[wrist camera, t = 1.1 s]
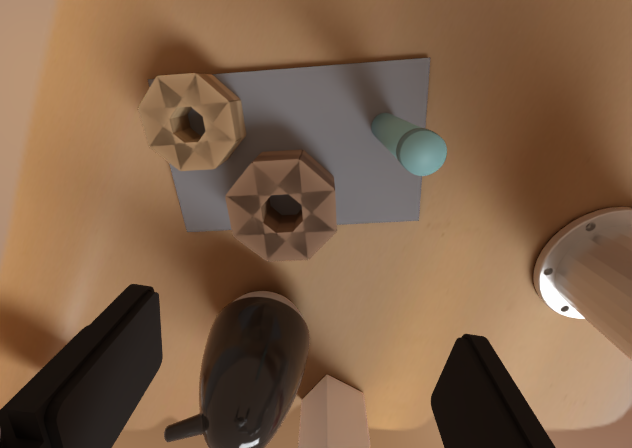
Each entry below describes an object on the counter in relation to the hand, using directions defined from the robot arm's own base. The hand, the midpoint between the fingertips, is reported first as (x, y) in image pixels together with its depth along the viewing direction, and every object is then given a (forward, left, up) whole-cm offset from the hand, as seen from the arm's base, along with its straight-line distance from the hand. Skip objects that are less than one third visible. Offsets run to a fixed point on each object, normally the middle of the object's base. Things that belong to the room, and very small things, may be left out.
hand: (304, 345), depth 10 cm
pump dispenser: (+7, +16, -21) cm, 28 cm away
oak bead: (+10, -5, -21) cm, 23 cm away
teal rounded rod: (-6, -4, -21) cm, 22 cm away
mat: (+2, -2, -21) cm, 21 cm away
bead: (+3, +2, -21) cm, 21 cm away
